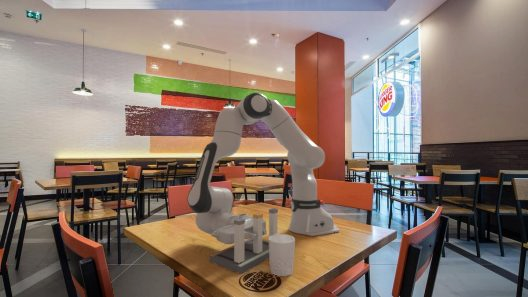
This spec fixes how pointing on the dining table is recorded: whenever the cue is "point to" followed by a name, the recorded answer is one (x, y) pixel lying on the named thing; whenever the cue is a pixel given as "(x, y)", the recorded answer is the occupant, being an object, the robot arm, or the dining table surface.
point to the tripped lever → (257, 232)
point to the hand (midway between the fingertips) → (260, 234)
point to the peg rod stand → (244, 248)
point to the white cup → (281, 254)
